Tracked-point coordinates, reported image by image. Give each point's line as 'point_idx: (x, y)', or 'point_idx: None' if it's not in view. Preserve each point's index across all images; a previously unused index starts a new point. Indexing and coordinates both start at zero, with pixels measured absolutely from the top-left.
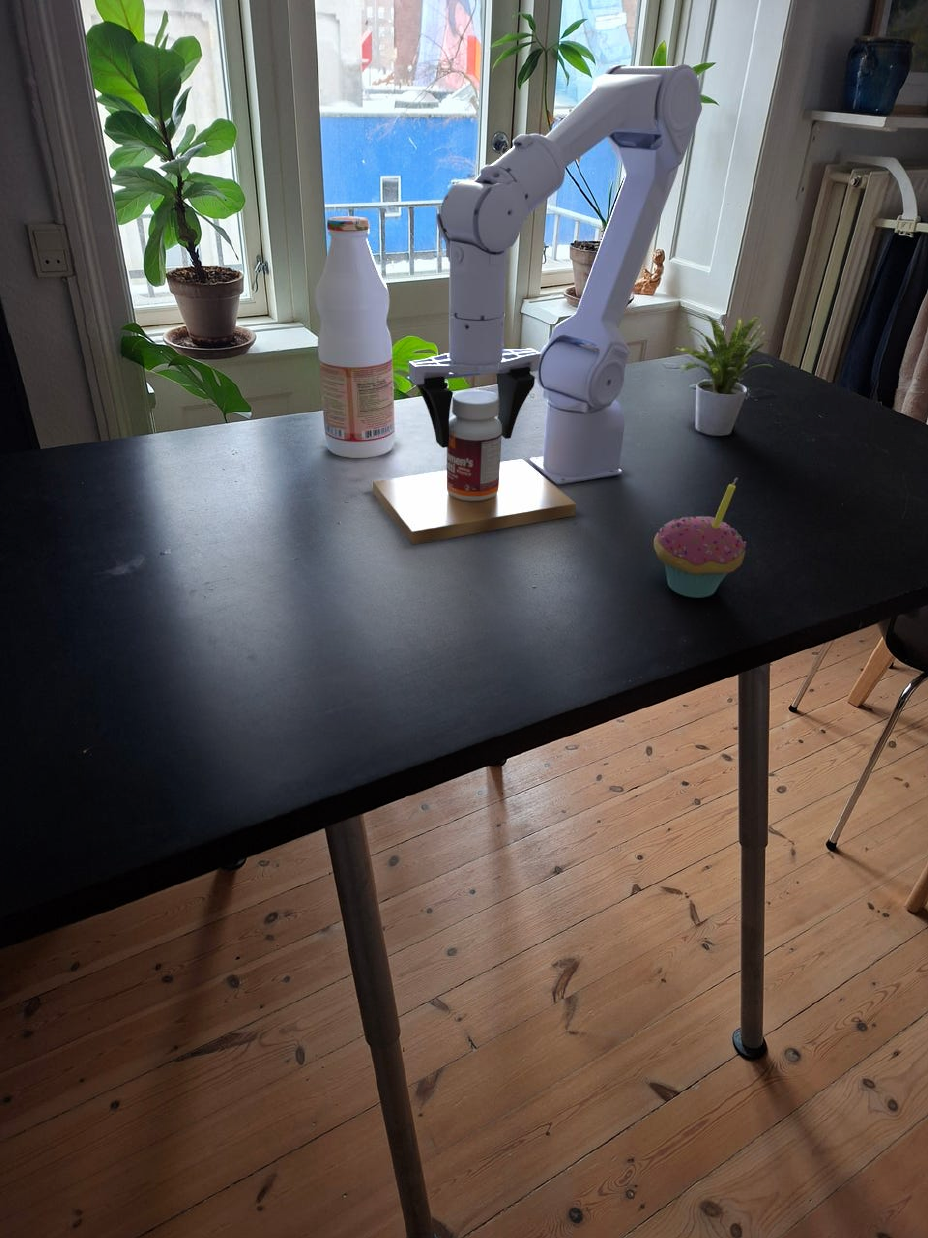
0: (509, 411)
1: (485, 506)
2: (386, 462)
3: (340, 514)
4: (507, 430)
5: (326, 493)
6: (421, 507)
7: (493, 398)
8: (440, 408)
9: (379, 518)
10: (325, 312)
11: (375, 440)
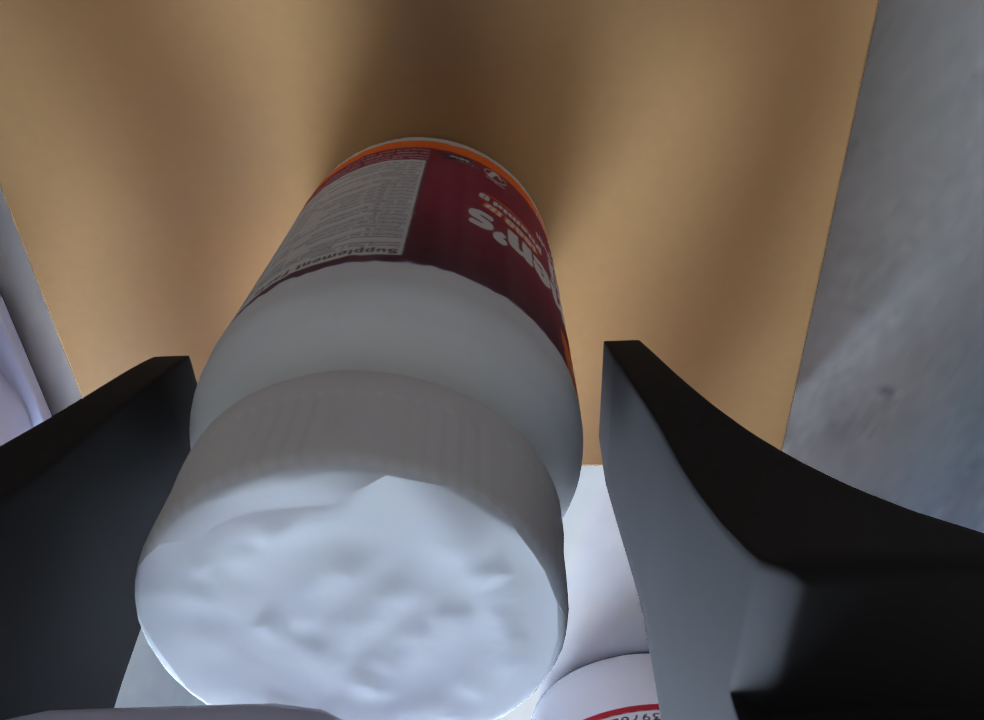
0: (85, 468)
1: (419, 81)
2: (605, 615)
3: (964, 308)
4: (159, 373)
5: (910, 472)
6: (718, 171)
7: (198, 558)
8: (797, 482)
9: (849, 229)
10: None
11: (636, 704)
